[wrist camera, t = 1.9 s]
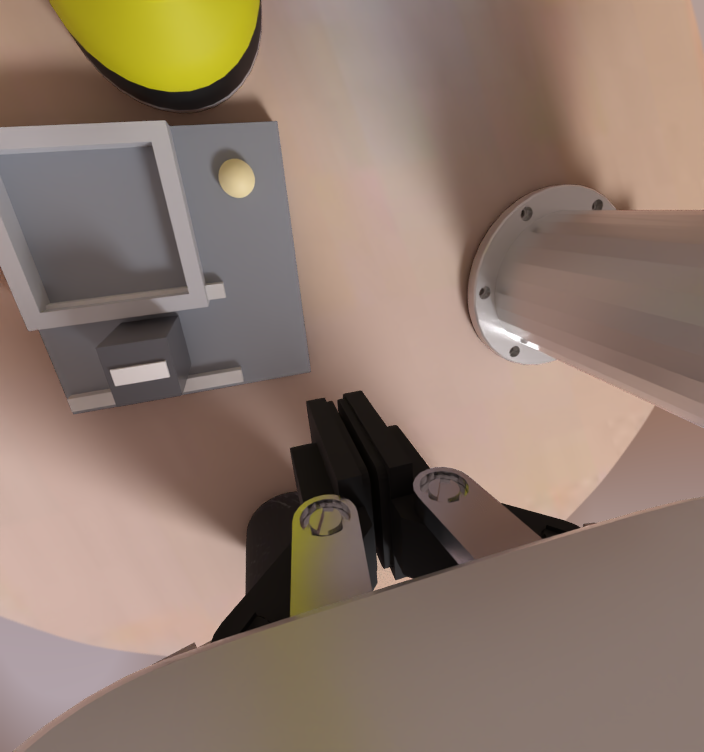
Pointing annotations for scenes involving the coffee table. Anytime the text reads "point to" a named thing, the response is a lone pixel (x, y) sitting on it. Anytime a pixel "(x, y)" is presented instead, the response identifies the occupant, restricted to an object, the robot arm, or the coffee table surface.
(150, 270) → the board
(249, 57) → the flashlight
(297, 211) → the coffee table surface
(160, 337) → the breaker toggle
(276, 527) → the travel mug
